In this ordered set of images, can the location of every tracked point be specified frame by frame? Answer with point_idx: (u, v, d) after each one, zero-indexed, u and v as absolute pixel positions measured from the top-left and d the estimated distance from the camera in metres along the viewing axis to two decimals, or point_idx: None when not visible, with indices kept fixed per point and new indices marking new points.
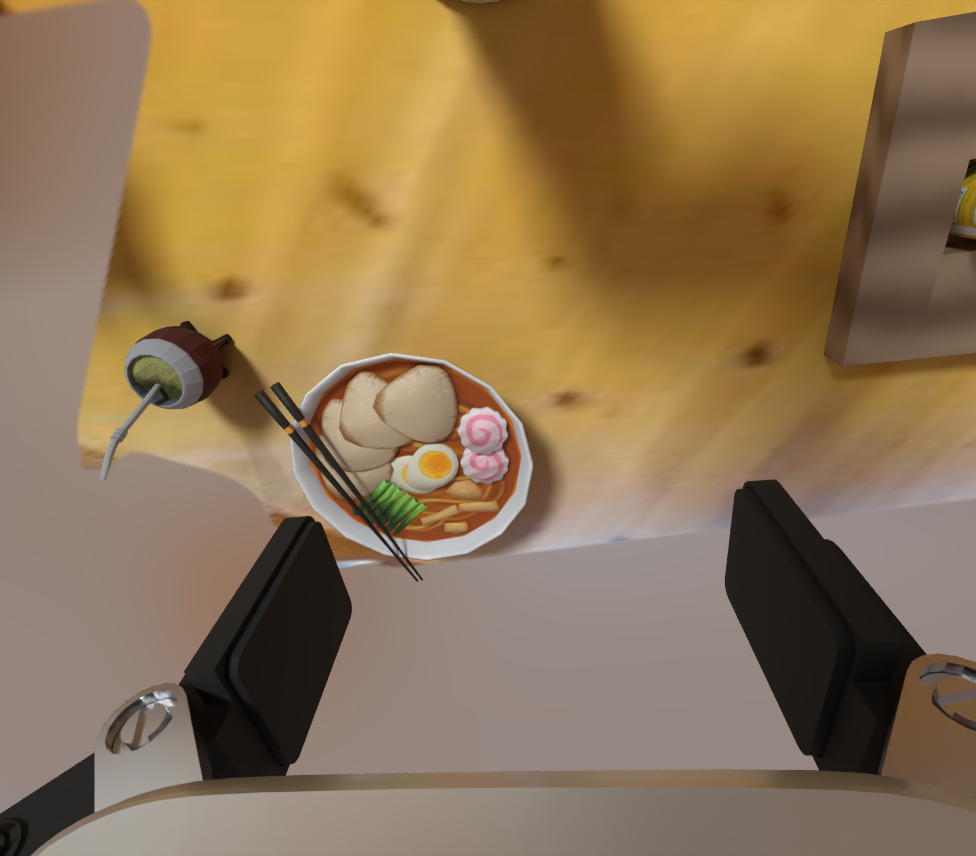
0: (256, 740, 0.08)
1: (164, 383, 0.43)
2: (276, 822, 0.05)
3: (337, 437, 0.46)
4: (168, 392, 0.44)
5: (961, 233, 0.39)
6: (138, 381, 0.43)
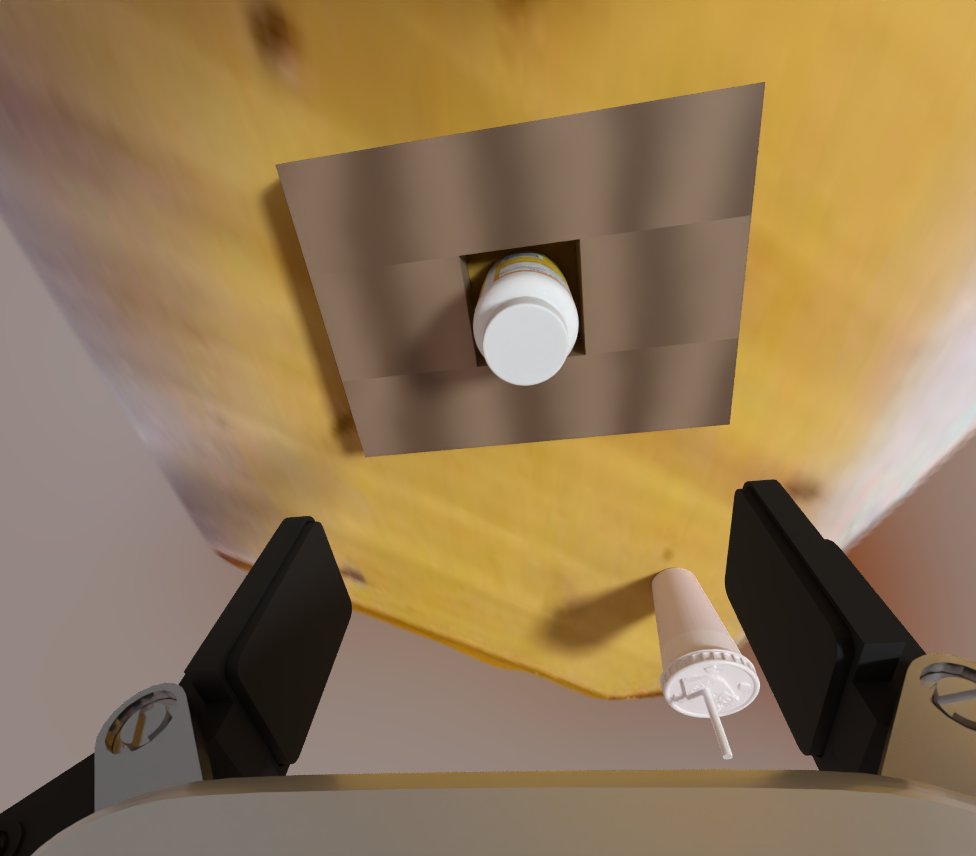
0: (256, 739, 0.08)
1: None
2: (276, 822, 0.05)
3: None
4: None
5: (486, 277, 0.29)
6: None
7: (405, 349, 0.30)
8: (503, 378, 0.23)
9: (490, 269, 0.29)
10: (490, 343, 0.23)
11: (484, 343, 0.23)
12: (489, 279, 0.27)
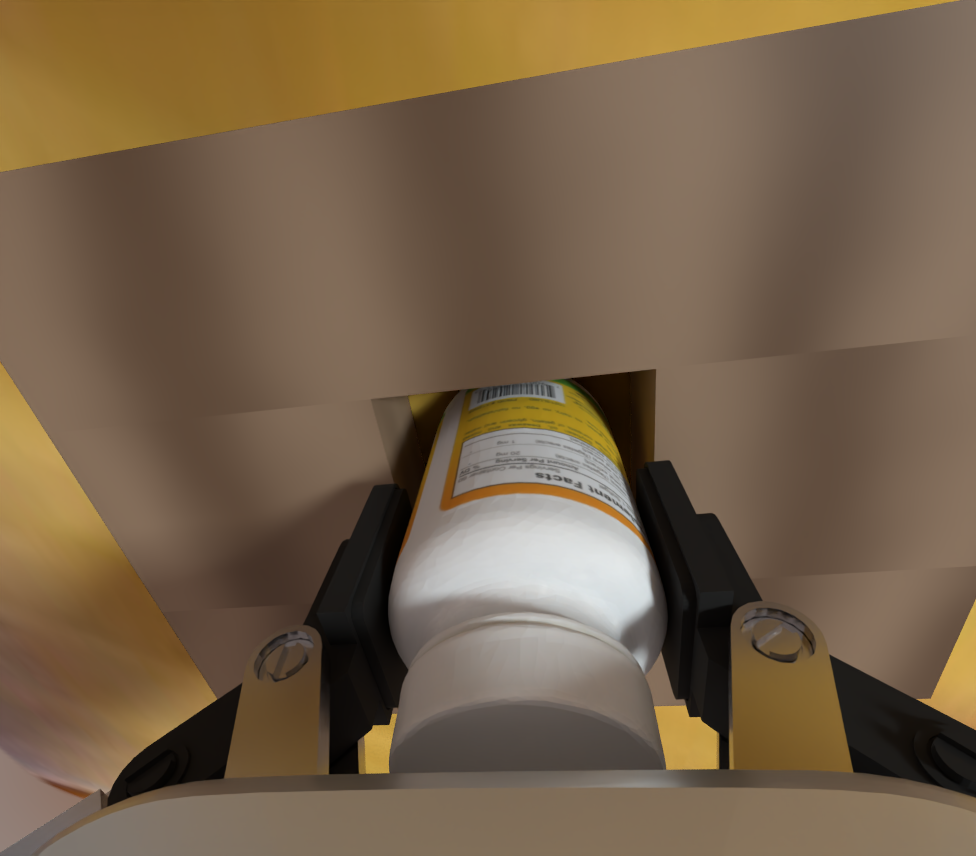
0: (372, 682, 0.09)
1: None
2: (276, 821, 0.05)
3: None
4: None
5: (439, 434, 0.13)
6: None
7: (277, 565, 0.15)
8: None
9: (450, 406, 0.14)
10: None
11: None
12: (438, 467, 0.11)
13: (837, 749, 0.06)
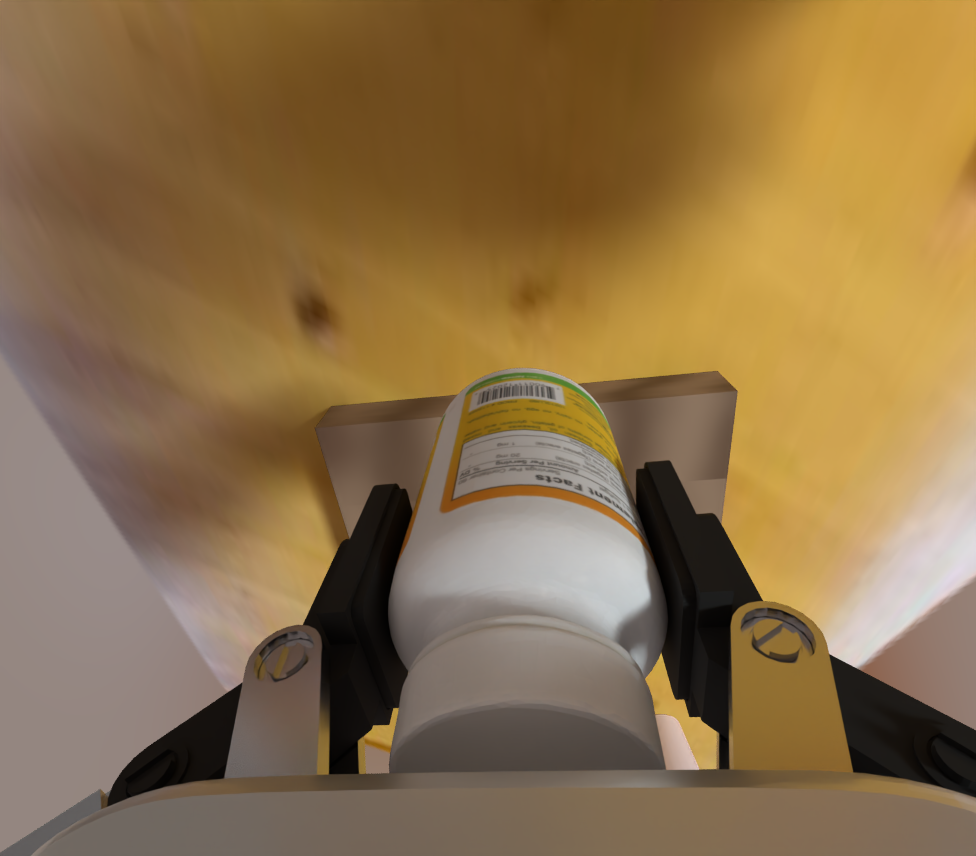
0: (371, 681, 0.09)
1: None
2: (276, 822, 0.05)
3: None
4: None
5: (439, 435, 0.13)
6: None
7: None
8: None
9: (451, 407, 0.14)
10: None
11: None
12: (438, 468, 0.11)
13: (837, 749, 0.06)
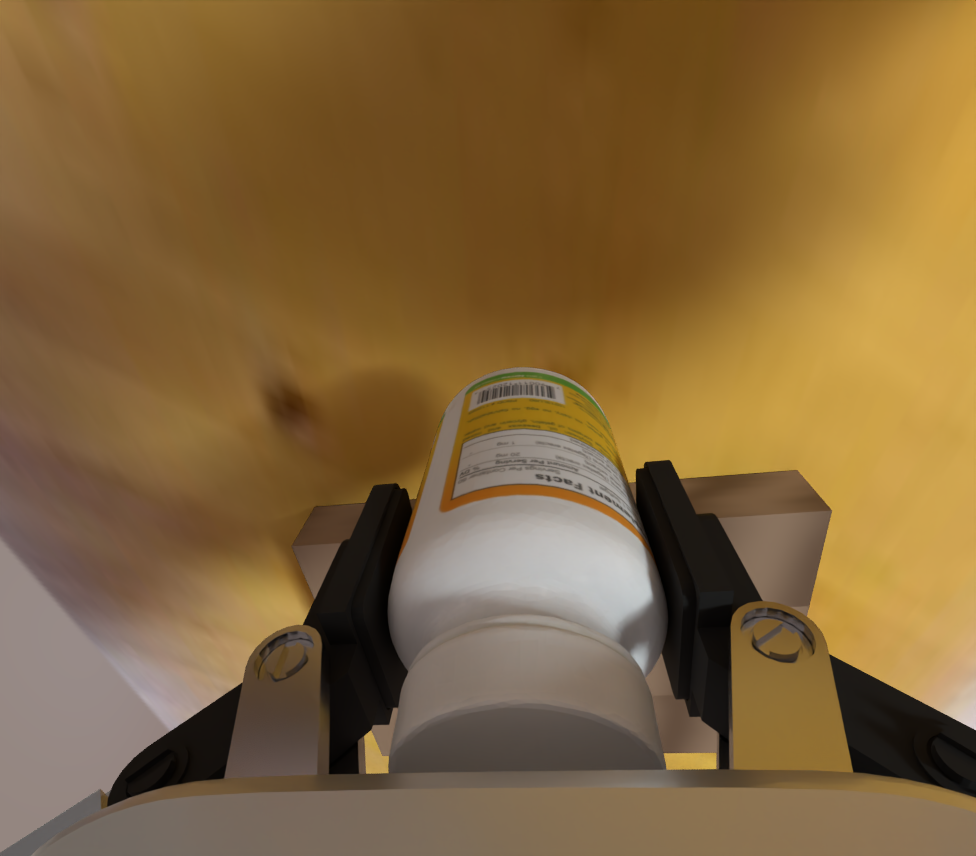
0: (372, 681, 0.09)
1: None
2: (275, 821, 0.05)
3: None
4: None
5: (439, 435, 0.13)
6: None
7: None
8: None
9: (450, 407, 0.14)
10: None
11: None
12: (437, 468, 0.11)
13: (837, 749, 0.06)
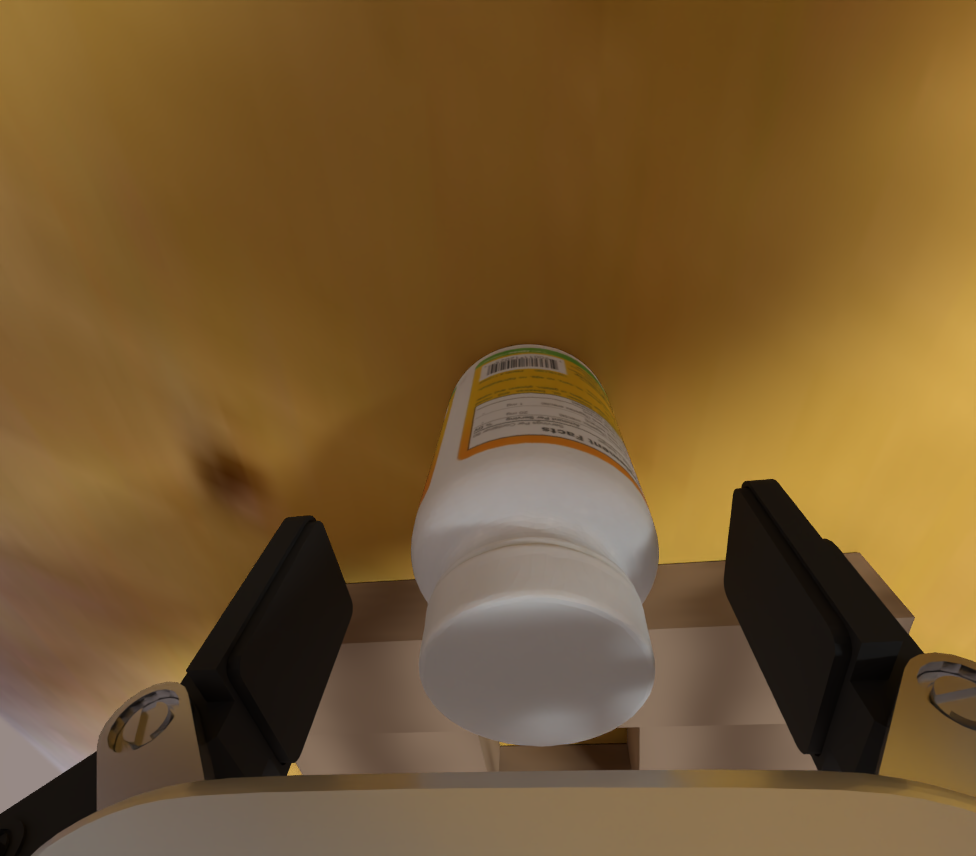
0: (258, 738, 0.09)
1: None
2: (276, 822, 0.05)
3: None
4: None
5: (452, 404, 0.14)
6: None
7: None
8: (478, 733, 0.09)
9: (461, 380, 0.15)
10: (440, 672, 0.08)
11: (423, 671, 0.08)
12: (453, 428, 0.12)
13: None
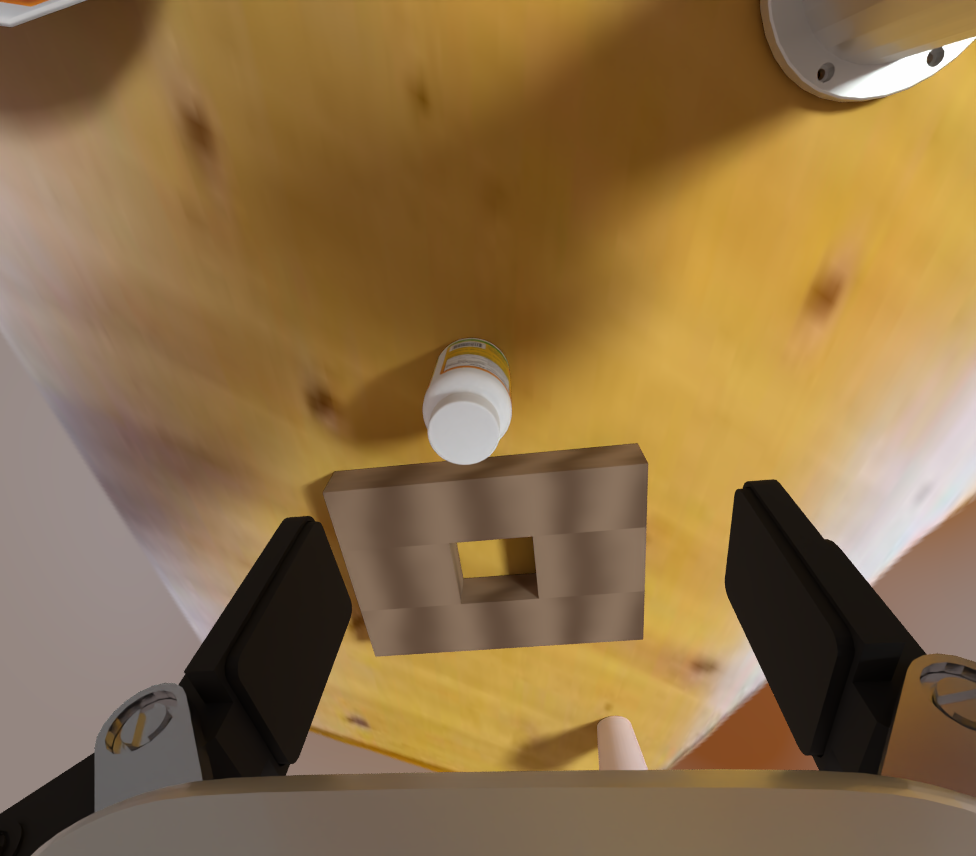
0: (256, 740, 0.08)
1: None
2: (276, 821, 0.05)
3: None
4: None
5: (437, 362, 0.33)
6: None
7: (409, 593, 0.41)
8: (446, 459, 0.28)
9: (441, 353, 0.34)
10: (434, 431, 0.27)
11: (429, 431, 0.27)
12: (438, 368, 0.31)
13: None
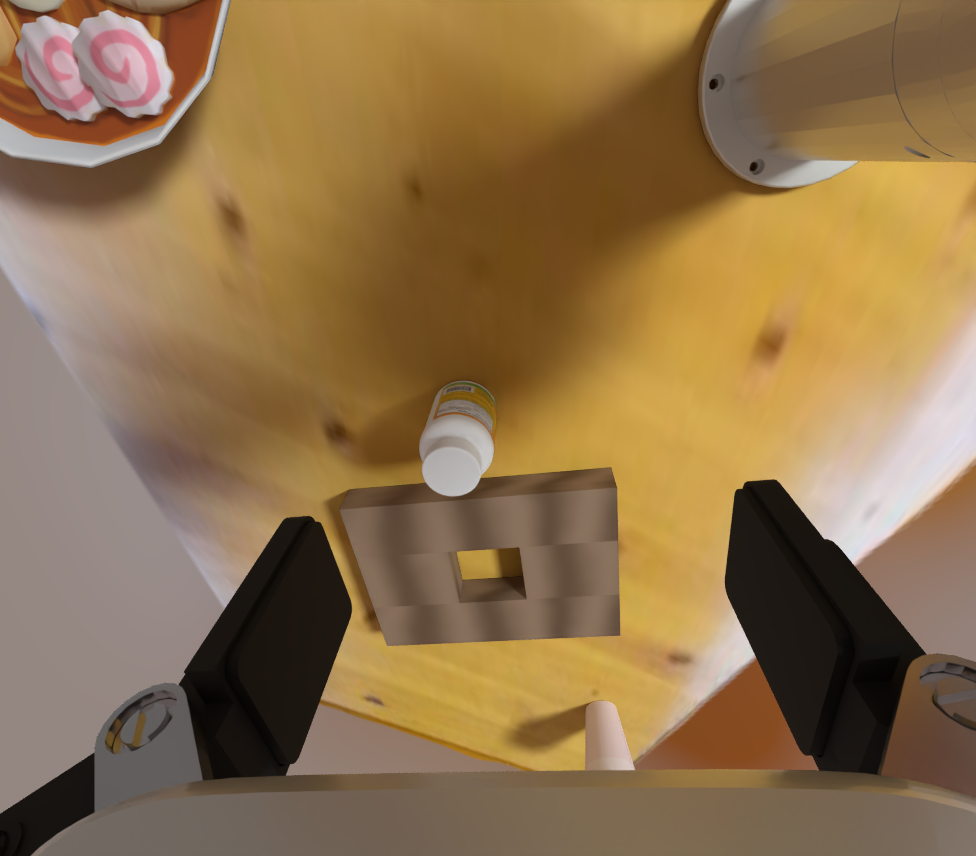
0: (256, 739, 0.08)
1: None
2: (276, 821, 0.05)
3: None
4: None
5: (433, 403, 0.39)
6: None
7: (414, 593, 0.48)
8: (437, 492, 0.34)
9: (437, 394, 0.40)
10: (427, 470, 0.33)
11: (423, 470, 0.33)
12: (432, 411, 0.37)
13: None
